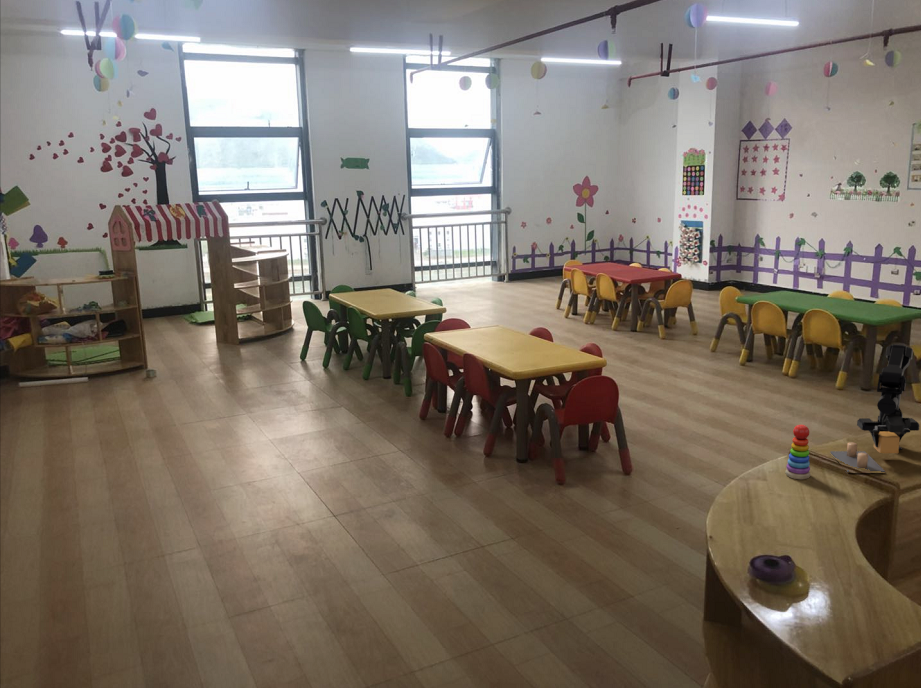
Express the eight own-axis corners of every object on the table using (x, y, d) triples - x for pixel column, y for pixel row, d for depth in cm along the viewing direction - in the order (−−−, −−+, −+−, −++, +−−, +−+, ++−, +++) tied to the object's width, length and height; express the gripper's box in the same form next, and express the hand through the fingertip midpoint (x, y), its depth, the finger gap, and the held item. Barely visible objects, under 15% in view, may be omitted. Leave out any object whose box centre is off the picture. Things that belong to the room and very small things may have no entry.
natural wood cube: (873, 447, 268) (874, 431, 267) (891, 447, 267) (892, 431, 266) (880, 453, 263) (881, 437, 261) (898, 453, 262) (899, 437, 260)
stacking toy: (786, 479, 254) (789, 428, 250) (783, 470, 262) (786, 420, 257) (811, 481, 252) (814, 429, 248) (808, 471, 259) (811, 421, 255)
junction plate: (830, 453, 273) (831, 439, 272) (864, 453, 271) (865, 439, 270) (847, 473, 256) (848, 458, 255) (884, 473, 254) (886, 458, 253)
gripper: (869, 413, 255) (866, 455, 258) (928, 412, 252) (924, 455, 255) (857, 403, 266) (855, 443, 269) (914, 402, 263) (910, 443, 266)
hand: (886, 446), depth 265 cm, fingers closed on natural wood cube, 6 cm apart
